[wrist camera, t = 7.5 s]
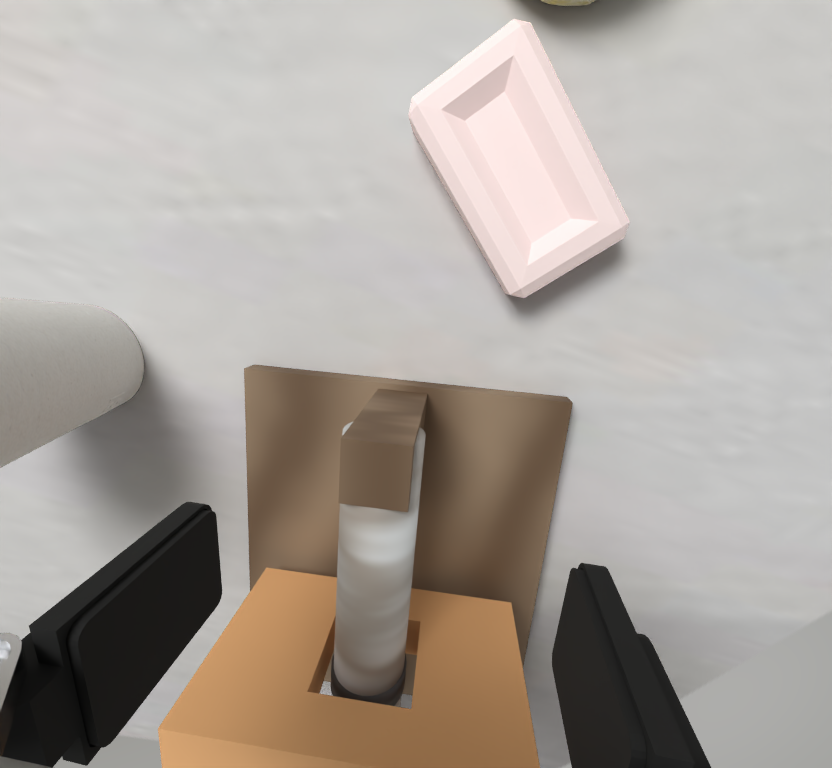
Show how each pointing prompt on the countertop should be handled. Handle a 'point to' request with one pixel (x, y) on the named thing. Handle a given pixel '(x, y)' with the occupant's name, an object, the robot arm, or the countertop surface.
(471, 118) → the soap bar
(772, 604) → the countertop surface
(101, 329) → the dixie cup
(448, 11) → the countertop surface
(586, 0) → the bread roll
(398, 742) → the collar
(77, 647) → the robot arm
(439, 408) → the pipe stand
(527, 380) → the countertop surface
